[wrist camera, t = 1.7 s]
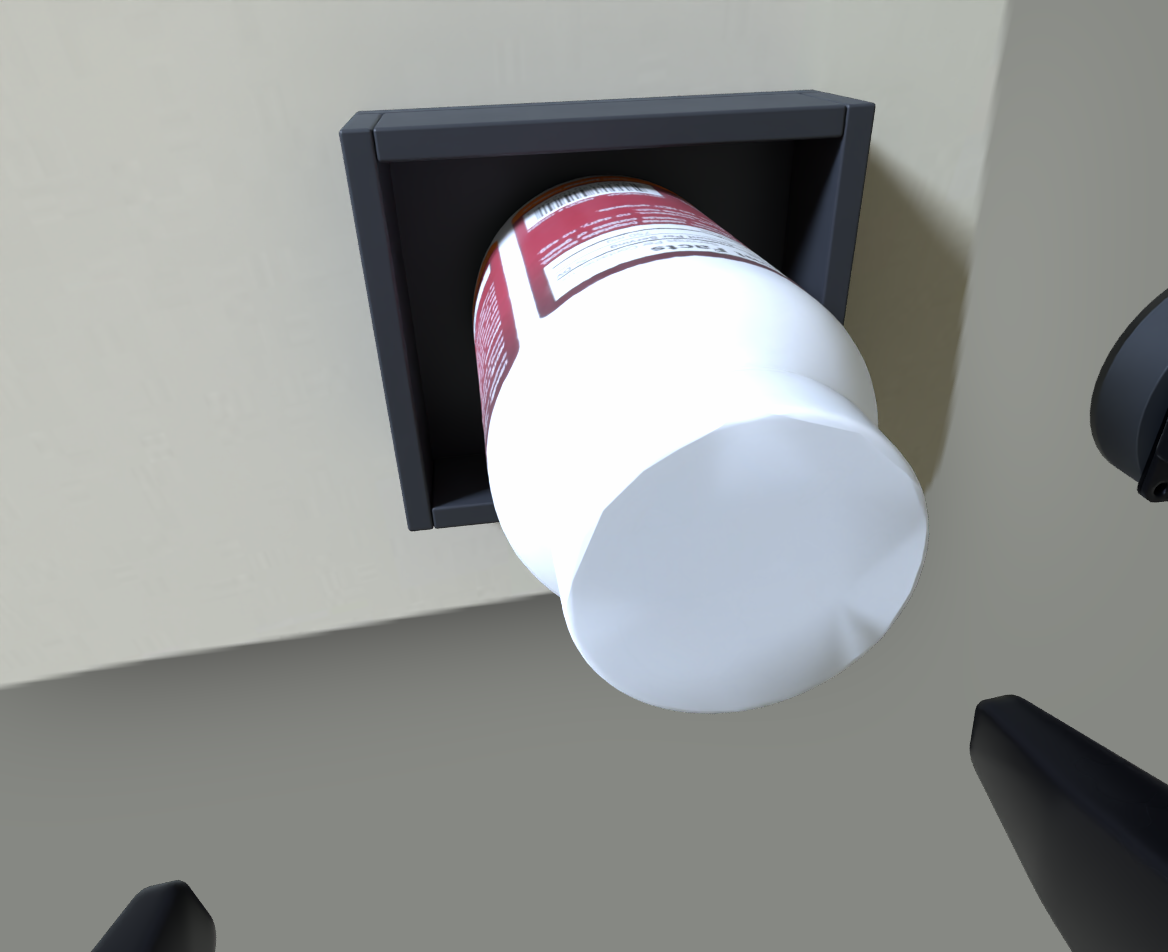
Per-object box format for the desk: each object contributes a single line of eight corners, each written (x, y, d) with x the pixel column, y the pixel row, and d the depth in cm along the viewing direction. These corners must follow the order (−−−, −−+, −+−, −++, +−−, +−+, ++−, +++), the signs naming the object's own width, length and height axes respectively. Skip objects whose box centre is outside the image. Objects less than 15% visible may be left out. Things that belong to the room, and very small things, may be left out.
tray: (814, 89, 18) (877, 102, 15) (777, 432, 22) (820, 489, 20) (355, 111, 17) (337, 130, 14) (413, 467, 21) (408, 532, 19)
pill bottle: (616, 459, 21) (746, 811, 12) (420, 332, 19) (389, 653, 9) (776, 275, 19) (1083, 525, 10) (581, 105, 17) (747, 223, 7)
